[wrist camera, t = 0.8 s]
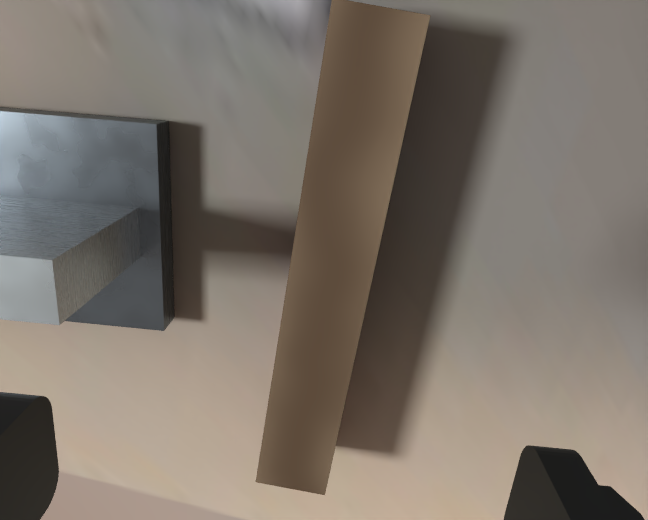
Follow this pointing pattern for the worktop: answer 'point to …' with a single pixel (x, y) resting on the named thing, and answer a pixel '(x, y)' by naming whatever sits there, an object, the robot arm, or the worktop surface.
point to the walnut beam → (338, 233)
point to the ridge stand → (85, 219)
